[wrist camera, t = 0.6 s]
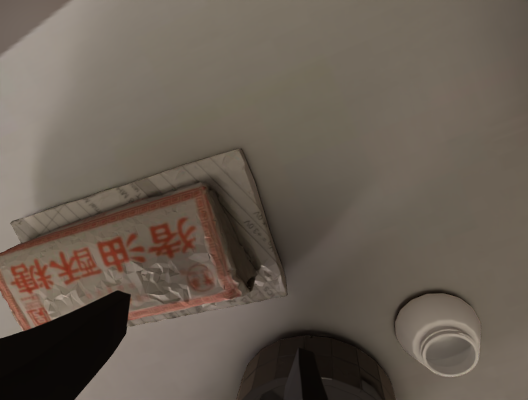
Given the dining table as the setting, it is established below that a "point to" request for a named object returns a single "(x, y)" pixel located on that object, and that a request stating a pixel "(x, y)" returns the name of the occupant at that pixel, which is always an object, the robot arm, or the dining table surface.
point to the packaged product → (148, 247)
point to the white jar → (440, 333)
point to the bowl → (330, 367)
